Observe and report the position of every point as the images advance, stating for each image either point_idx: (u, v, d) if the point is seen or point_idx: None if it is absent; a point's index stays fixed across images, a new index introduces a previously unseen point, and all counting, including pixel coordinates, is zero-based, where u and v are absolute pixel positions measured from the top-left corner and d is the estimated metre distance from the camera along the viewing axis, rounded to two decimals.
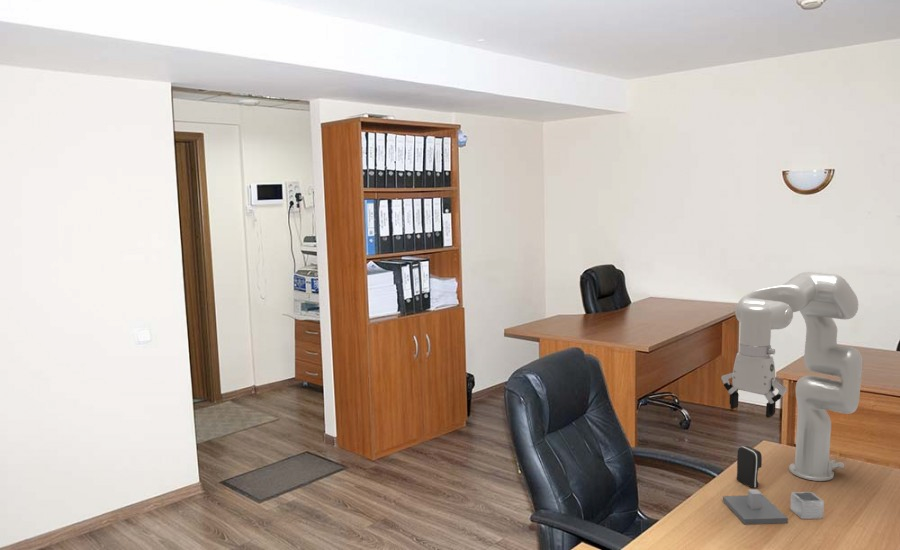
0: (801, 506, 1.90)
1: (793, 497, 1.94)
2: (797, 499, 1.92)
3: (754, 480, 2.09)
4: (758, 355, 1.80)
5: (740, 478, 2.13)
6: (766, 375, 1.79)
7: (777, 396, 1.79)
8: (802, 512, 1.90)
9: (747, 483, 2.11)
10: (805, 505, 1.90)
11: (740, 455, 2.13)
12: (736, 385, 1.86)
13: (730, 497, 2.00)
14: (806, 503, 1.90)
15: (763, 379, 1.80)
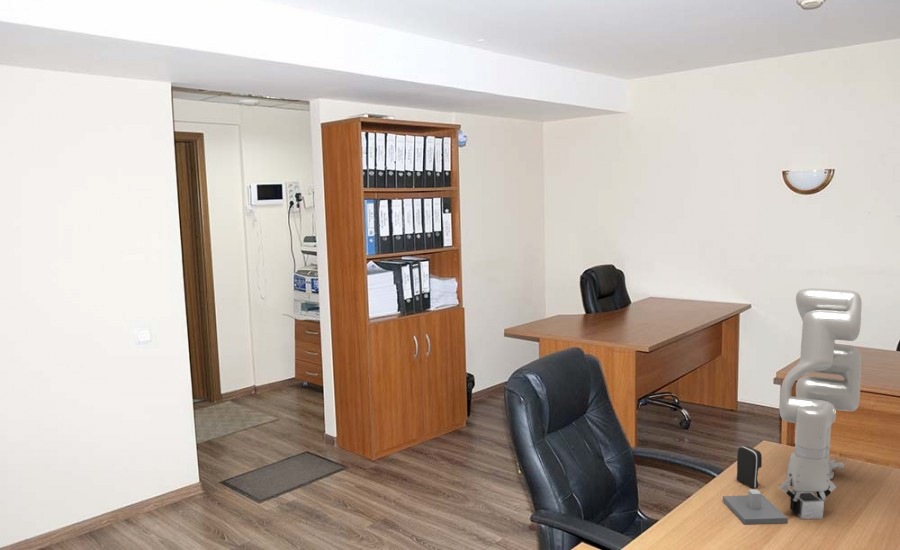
0: (801, 506, 1.90)
1: None
2: None
3: (754, 480, 2.09)
4: (824, 456, 1.88)
5: (740, 478, 2.13)
6: (828, 472, 1.90)
7: (828, 492, 1.92)
8: (802, 512, 1.90)
9: (747, 483, 2.11)
10: (805, 505, 1.90)
11: (740, 455, 2.13)
12: (799, 488, 1.90)
13: (730, 497, 2.00)
14: (806, 503, 1.90)
15: (826, 477, 1.90)
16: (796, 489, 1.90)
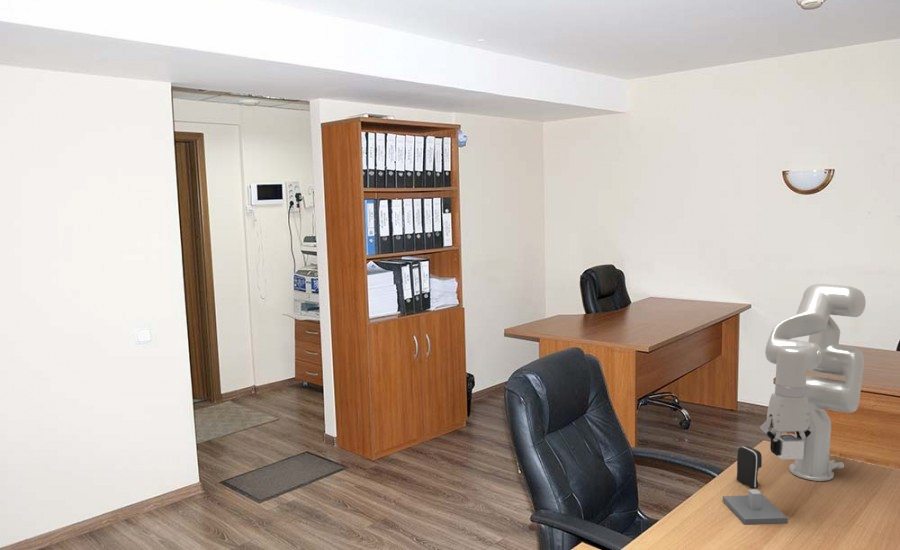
0: (782, 446, 1.88)
1: None
2: None
3: (754, 480, 2.09)
4: (804, 395, 1.86)
5: (740, 478, 2.13)
6: (808, 412, 1.88)
7: (808, 432, 1.90)
8: (782, 452, 1.88)
9: (747, 483, 2.11)
10: (785, 445, 1.88)
11: (740, 455, 2.13)
12: (779, 428, 1.88)
13: (730, 497, 2.00)
14: (786, 443, 1.88)
15: (806, 416, 1.88)
16: (776, 429, 1.88)
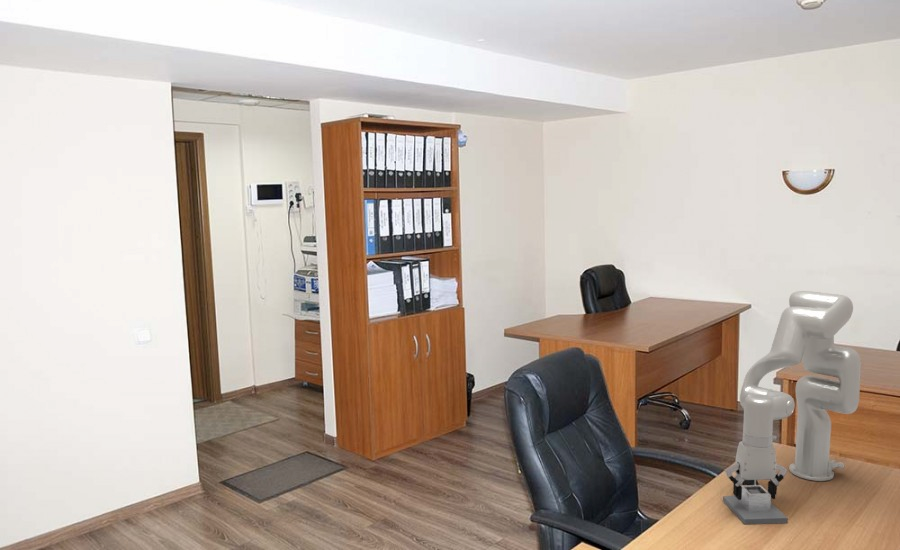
0: (748, 499, 1.91)
1: (742, 490, 1.96)
2: (745, 492, 1.93)
3: (754, 480, 2.09)
4: (770, 444, 1.89)
5: None
6: (775, 461, 1.91)
7: (781, 477, 1.93)
8: (749, 505, 1.91)
9: (747, 483, 2.11)
10: (752, 498, 1.91)
11: None
12: (746, 476, 1.91)
13: (730, 497, 2.00)
14: (753, 496, 1.91)
15: (773, 465, 1.91)
16: (743, 477, 1.91)
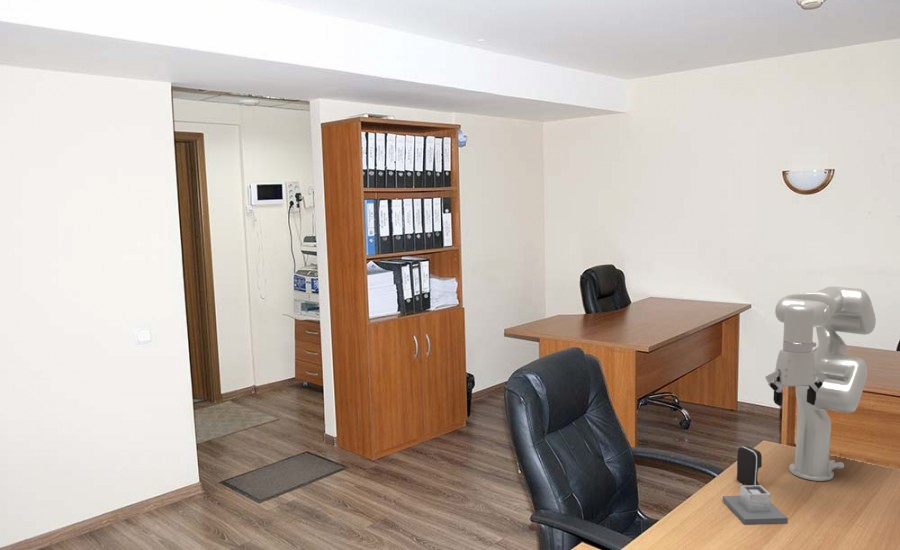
0: (748, 499, 1.91)
1: (742, 490, 1.96)
2: (745, 492, 1.93)
3: (754, 480, 2.09)
4: (810, 350, 1.95)
5: (740, 478, 2.13)
6: (814, 367, 1.97)
7: (820, 384, 1.99)
8: (749, 505, 1.91)
9: (747, 483, 2.11)
10: (752, 498, 1.91)
11: (740, 455, 2.13)
12: (787, 382, 1.97)
13: (730, 497, 2.00)
14: (753, 496, 1.91)
15: (812, 371, 1.97)
16: (784, 383, 1.97)
